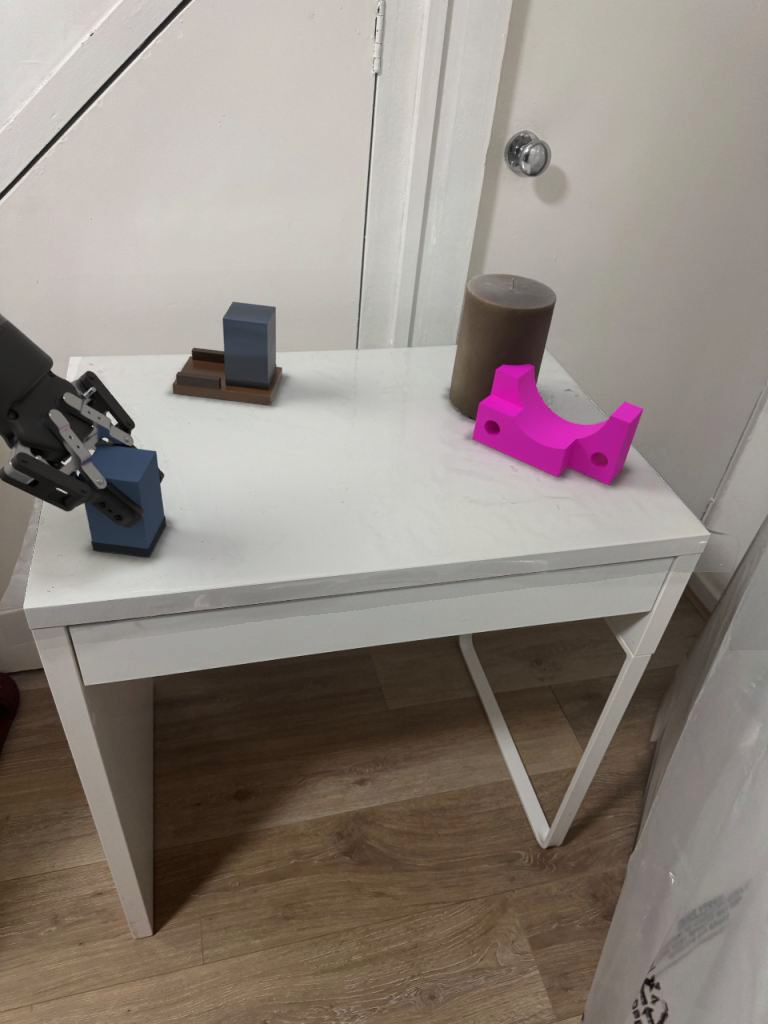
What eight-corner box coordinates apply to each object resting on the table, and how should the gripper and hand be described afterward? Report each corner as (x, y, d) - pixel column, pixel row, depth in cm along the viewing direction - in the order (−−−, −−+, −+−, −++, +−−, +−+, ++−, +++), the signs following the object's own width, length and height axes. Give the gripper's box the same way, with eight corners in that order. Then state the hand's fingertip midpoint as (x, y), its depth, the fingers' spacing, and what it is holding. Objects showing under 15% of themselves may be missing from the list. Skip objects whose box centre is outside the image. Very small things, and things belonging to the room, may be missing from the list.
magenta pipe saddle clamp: (472, 438, 83) (484, 378, 78) (500, 416, 87) (512, 357, 82) (599, 495, 77) (620, 433, 72) (622, 469, 81) (643, 408, 76)
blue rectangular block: (149, 558, 64) (138, 482, 59) (92, 550, 64) (76, 474, 59) (166, 524, 68) (157, 450, 63) (112, 517, 68) (98, 443, 63)
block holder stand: (270, 405, 85) (269, 329, 79) (173, 393, 85) (165, 316, 79) (282, 376, 90) (282, 302, 84) (190, 365, 90) (184, 290, 84)
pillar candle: (506, 433, 84) (535, 305, 75) (432, 401, 88) (451, 276, 79) (544, 400, 91) (575, 279, 81) (474, 372, 95) (496, 253, 85)
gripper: (-60, 371, 49) (147, 537, 56) (39, 285, 60) (200, 432, 67) (-114, 431, 52) (87, 579, 60) (-11, 338, 63) (148, 473, 71)
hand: (146, 501), depth 63 cm, fingers closed on blue rectangular block, 4 cm apart
